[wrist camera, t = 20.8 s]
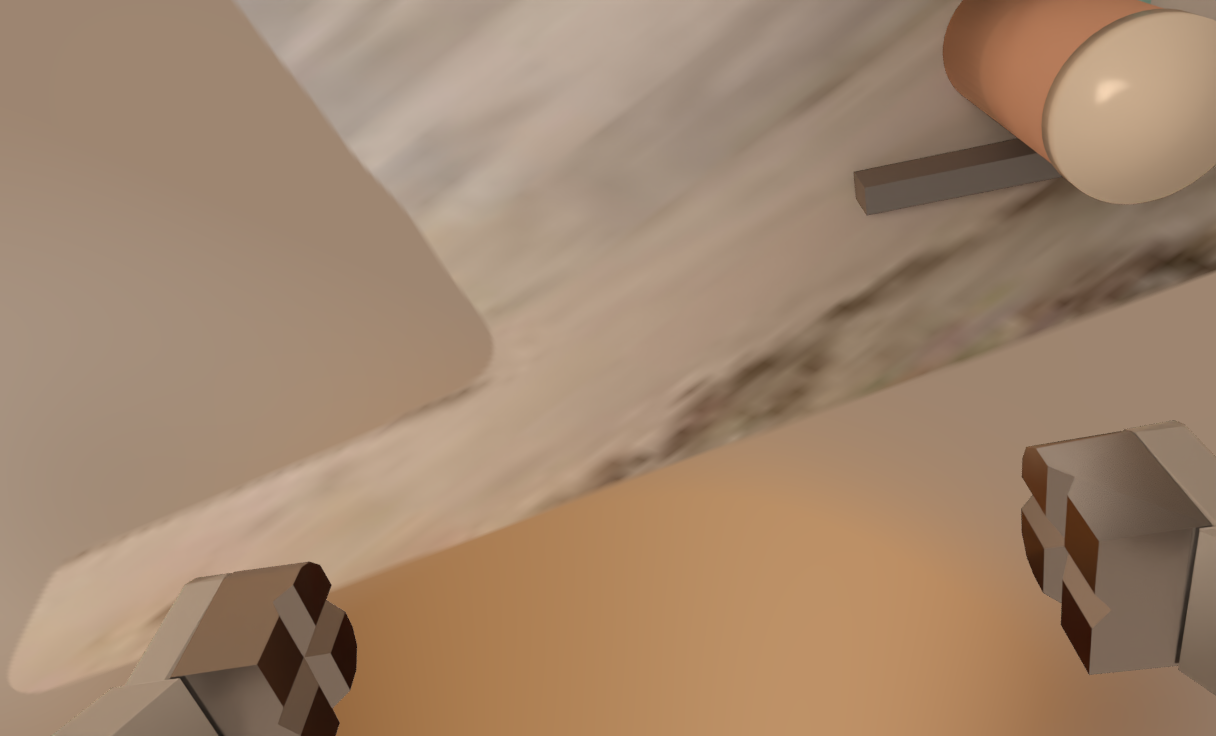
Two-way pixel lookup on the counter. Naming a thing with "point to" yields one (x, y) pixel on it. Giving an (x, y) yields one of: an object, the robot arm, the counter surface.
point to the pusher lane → (950, 176)
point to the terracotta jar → (1094, 88)
